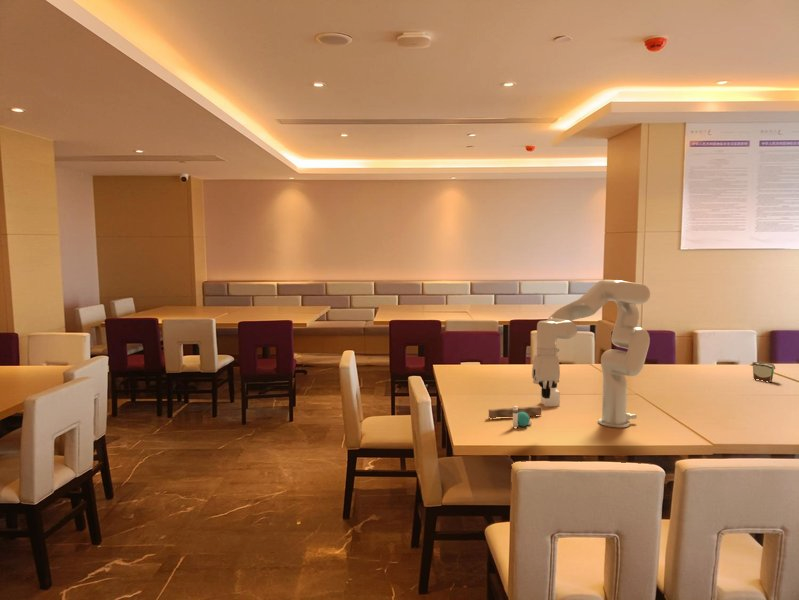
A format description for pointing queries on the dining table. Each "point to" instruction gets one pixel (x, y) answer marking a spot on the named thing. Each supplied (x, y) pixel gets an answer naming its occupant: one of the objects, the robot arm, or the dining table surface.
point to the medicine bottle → (552, 397)
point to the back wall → (509, 411)
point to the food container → (763, 371)
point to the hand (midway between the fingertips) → (545, 397)
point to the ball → (523, 419)
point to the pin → (515, 416)
